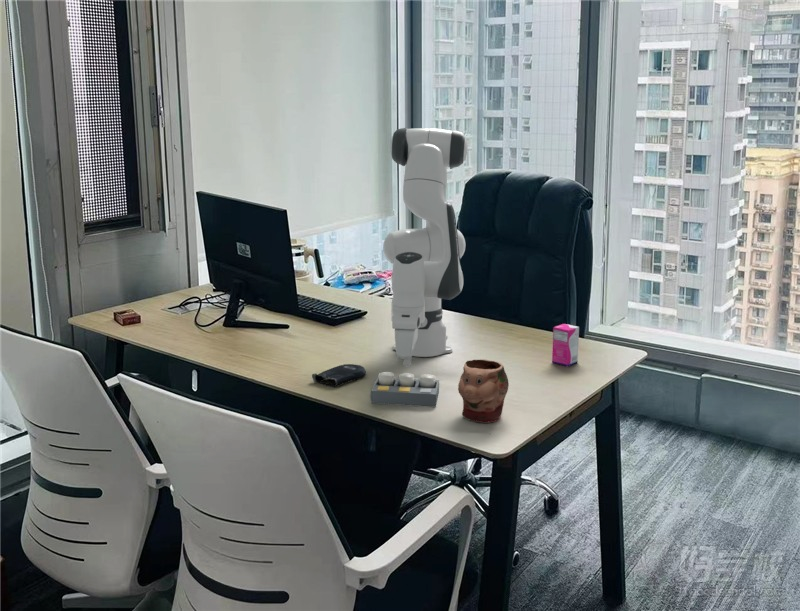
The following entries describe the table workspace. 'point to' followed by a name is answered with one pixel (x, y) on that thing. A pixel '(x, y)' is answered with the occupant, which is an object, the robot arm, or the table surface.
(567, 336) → the supplement box
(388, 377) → the end button
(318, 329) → the table surface
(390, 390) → the button panel
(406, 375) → the middle button
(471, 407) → the character mug
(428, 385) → the button
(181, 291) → the table surface
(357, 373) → the electronic device
